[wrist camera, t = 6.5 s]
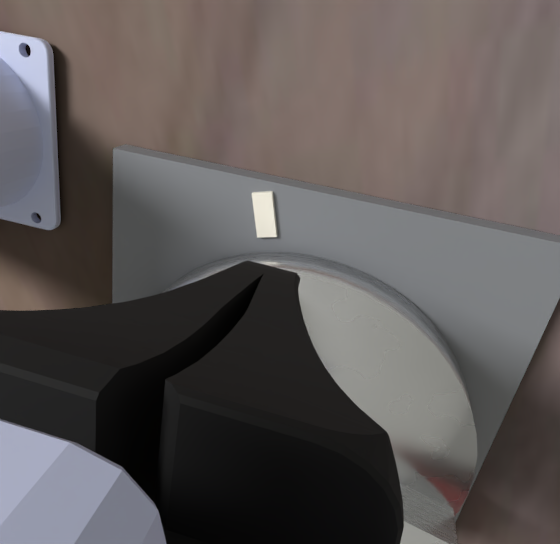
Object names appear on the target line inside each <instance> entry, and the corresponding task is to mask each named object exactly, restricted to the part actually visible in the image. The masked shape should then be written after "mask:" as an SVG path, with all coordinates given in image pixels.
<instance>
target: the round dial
mask: <svg viewBox="0 0 560 544" xmlns="http://www.w3.org/2000/svg"><path fill="white" fill-rule="evenodd" d="M244 261H252V262H256V263H260V264H264V265H268V266H272V267H276V268H279V269H283V270H287V271H291V272H295V273H297V274H298V275H299V277H300V283H299V287H298V293H299V301H300V306H301V311H302V315H303V319H304V322H305V325H306V328H307V331H308V334H309V336H310V339H311V341H312V344H313V346H314V348H315V350H316V352H317V354H318V356H319V358H320V359H321V361H322V363H323V365H324V366H325V368H326V369H327V371H328V372H329V373H330V375H331V376H332V378H333V379H334V380H335V382H336V383H337V384H338V386H339V387H340V388H341V389H342V390H343V391H344V392H345V393H346V395H347V396H348V397H349V398H350V399H351V400H352V401H353V402H354V403H355V404H356V405H357V406H358V407H359V408H360V409H361V410H362V411H364V412H365V413H366V414H367V415H368V416H369V417H370V418H372V419H373V420H374V421H375V422H376V423H377V424H379V425H380V426H381V427H382V428H383V429H384V430H385V431H387V433H388V435H389V438H390V441H391V445H392V449H393V453H394V457H395V461H396V466H397V471H398V476H399V481H400V487H401V493H402V500H403V511H404V528H403V533H402V537H401V542H400V544H458V542H457V534H456V527H455V519H454V516H455V515H456V514H457V513H458V511H459V510H460V508H461V506H462V504H463V503H464V501H465V499H466V497H467V495H468V493H469V490H470V487H471V484H472V481H473V478H474V475H475V468H476V461H477V433H476V428H475V424H474V419H473V414H472V410H471V405H470V401H469V396H468V392H467V387H466V383H465V379H464V376H463V374H462V371H461V369H460V366H459V364H458V361H457V359H456V357H455V355H454V354H453V352H452V350H451V348H450V347H449V345H448V343H447V342H446V340H445V338H444V337H443V336H442V335H441V333H440V332H439V331H438V329H437V328H436V327H435V326H434V324H433V323H432V322H431V321H430V320H429V319H428V318H427V317H426V316H425V315H424V314H423V313H422V312H421V311H420V310H419V309H418V308H417V307H416V306H415V305H414V304H413V303H412V302H411V301H409V300H408V299H407V298H405V297H404V296H403V295H401V294H400V293H398V292H397V291H396V290H394V289H393V288H392V287H390V286H388V285H387V284H385V283H383V282H381V281H380V280H378V279H376V278H374V277H373V276H371V275H369V274H367V273H365V272H362V271H360V270H358V269H355V268H353V267H350V266H348V265H346V264H343V263H340V262H336V261H332V260H329V259H325V258H322V257H318V256H312V255H306V254H299V253H293V252H256V253H246V254H239V255H235V256H231V257H226V258H222V259H218V260H216V261H213V262H211V263H208V264H205V265H203V266H200V267H198V268H196V269H194V270H193V271H191V272H189V273H187V274H186V275H184V276H182V277H180V278H179V279H178V280H176V281H175V282H174V283H173V284H171V285H170V286H169V287H168V288H166V289H165V290H164V291H163V292H162V293H164V292H167V291H170V290H173V289H176V288H179V287H182V286H184V285H187V284H190V283H193V282H196V281H199V280H201V279H204V278H206V277H208V276H211V275H213V274H216V273H218V272H220V271H223V270H225V269H227V268H230V267H232V266H234V265H237V264H239V263H241V262H244Z"/></svg>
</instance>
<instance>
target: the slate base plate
mask: <svg viewBox="0 0 560 544" xmlns="http://www.w3.org/2000/svg"><path fill="white" fill-rule="evenodd" d="M256 252H293V253H299V254H306V255H312V256H318V257H322V258H325V259H329V260H332V261H336V262H340V263H343V264H346V265H348V266H350V267H353V268H355V269H358V270H360V271H362V272H365V273H367V274H369V275H371V276H373V277H374V278H376V279H378V280H380V281H381V282H383V283H385V284H387V285H388V286H390V287H392V288H393V289H394V290H396V291H397V292H398V293H400V294H401V295H403V296H404V297H405V298H407V299H408V300H409V301H411V302H412V303H413V304H414V305H415V306H416V307H417V308H418V309H419V310H420V311H421V312H422V313H423V314H424V315H425V316H426V317H427V318H428V319H429V320H430V321H431V322H432V323H433V324H434V326H435V327H436V328H437V329H438V331H439V332H440V333H441V335H442V336H443V337H444V338H445V340H446V342H447V343H448V345H449V347H450V348H451V350H452V352H453V354H454V355H455V357H456V359H457V361H458V364H459V366H460V369H461V371H462V374H463V376H464V379H465V383H466V387H467V392H468V396H469V401H470V405H471V410H472V414H473V419H474V424H475V428H476V433H477V461H476V468H475V475H474V478H473V481H472V484H471V487H470V490H471V488H472V486H473V484H474V482H475V479H476V477H477V475H478V473H479V471H480V469H481V466H482V464H483V462H484V460H485V458H486V456H487V453H488V451H489V449H490V447H491V445H492V443H493V441H494V438H495V436H496V434H497V432H498V430H499V428H500V425H501V423H502V421H503V419H504V417H505V415H506V412H507V410H508V408H509V406H510V404H511V402H512V400H513V397H514V395H515V393H516V391H517V389H518V387H519V384H520V382H521V380H522V378H523V376H524V374H525V371H526V369H527V367H528V365H529V363H530V361H531V359H532V356H533V354H534V352H535V350H536V348H537V346H538V343H539V341H540V339H541V337H542V335H543V333H544V330H545V328H546V326H547V324H548V322H549V320H550V318H551V315H552V313H553V311H554V309H555V307H556V305H557V302H558V300H559V298H560V235H555V234H550V233H545V232H541V231H536V230H531V229H526V228H522V227H517V226H512V225H507V224H503V223H498V222H493V221H488V220H483V219H479V218H474V217H469V216H464V215H460V214H455V213H450V212H445V211H441V210H436V209H431V208H426V207H422V206H417V205H412V204H407V203H402V202H398V201H393V200H388V199H383V198H379V197H374V196H369V195H364V194H360V193H355V192H350V191H345V190H340V189H336V188H331V187H326V186H321V185H317V184H312V183H307V182H302V181H298V180H293V179H288V178H283V177H279V176H274V175H269V174H264V173H259V172H255V171H250V170H245V169H240V168H236V167H231V166H226V165H221V164H217V163H212V162H207V161H202V160H198V159H193V158H188V157H183V156H178V155H174V154H169V153H164V152H159V151H155V150H150V149H145V148H140V147H136V146H131V145H126V144H125V145H122V146H119V147H116V148H113V261H112V304H113V303H120V302H126V301H131V300H136V299H140V298H144V297H149V296H153V295H156V294H160V293H162V292H163V291H164V290H165V289H166V288H168V287H169V286H170V285H171V284H173V283H174V282H175V281H176V280H178V279H179V278H180V277H182V276H184V275H186V274H187V273H189V272H191V271H193V270H194V269H196V268H198V267H200V266H203V265H205V264H208V263H211V262H213V261H216V260H218V259H222V258H226V257H231V256H235V255H239V254H246V253H256ZM470 490H469V492H470ZM468 494H469V493H468ZM467 497H468V495H467ZM467 497H466V499H467ZM466 499H465V501H466ZM465 501H464V503H465ZM464 503H463V504H462V506H461V508H460V510H459V511H458V513H457V514H456V515H455V516H454V519H455V523H456V520H457V518H458V516H459V514H460V512H461V510H462V507H463V505H464Z"/></svg>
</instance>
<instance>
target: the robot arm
mask: <svg viewBox="0 0 560 544" xmlns="http://www.w3.org/2000/svg"><path fill="white" fill-rule="evenodd" d="M27 44H28V46H29V47H30V50H31V54H30V56H28V54H27V53H26V45H27ZM37 213H38V214H39V215H40V216H41V220H40V219H39V218H38V217H37ZM0 219H3V220H7V221H12V222H16V223H20V224H24V225H28V226H32V227H37V228H41V229H45V230H53V229H55V228H57V227H58V226H59V225H60V222H61V214H60V191H59V169H58V146H57V123H56V101H55V78H54V56H53V50H52V48H51V46H50V44H49V43H48V42H47V41H46V40H43V39H41V38H35V37H30V36H24V35H19V34H14V33H8V32H3V31H0ZM299 283H300V277H299V275H298V274H297V273H295V272H291V271H287V270H283V269H279V268H276V267H272V266H268V265H264V264H260V263H256V262H252V261H244V262H241V263H239V264H237V265H234V266H232V267H230V268H227V269H225V270H223V271H220V272H218V273H216V274H213V275H211V276H208V277H206V278H204V279H201V280H199V281H196V282H193V283H190V284H187V285H184V286H182V287H179V288H176V289H173V290H170V291H167V292H164V293H160V294H156V295H153V296H149V297H144V298H140V299H136V300H131V301H126V302H120V303H113V304H106V305H99V306H92V307H84V308H73V309H60V310H38V311H5V310H0V544H400V542H401V537H402V533H403V528H404V511H403V500H402V493H401V487H400V481H399V476H398V471H397V466H396V461H395V457H394V453H393V449H392V445H391V441H390V438H389V435H388V433H387V431H385V430H384V429H383V428H382V427H381V426H380V425H379V424H377V423H376V422H375V421H374V420H373V419H372V418H370V417H369V416H368V415H367V414H366V413H365V412H364V411H362V410H361V409H360V408H359V407H358V406H357V405H356V404H355V403H354V402H353V401H352V400H351V399H350V398H349V397H348V396H347V395H346V393H345V392H344V391H343V390H342V389H341V388H340V387H339V386H338V384H337V383H336V382H335V380H334V379H333V378H332V376H331V375H330V373H329V372H328V371H327V369H326V368H325V366H324V365H323V363H322V361H321V359H320V358H319V356H318V354H317V352H316V350H315V348H314V346H313V344H312V341H311V339H310V336H309V334H308V331H307V328H306V325H305V322H304V319H303V315H302V311H301V306H300V301H299V293H298V287H299Z"/></svg>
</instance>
